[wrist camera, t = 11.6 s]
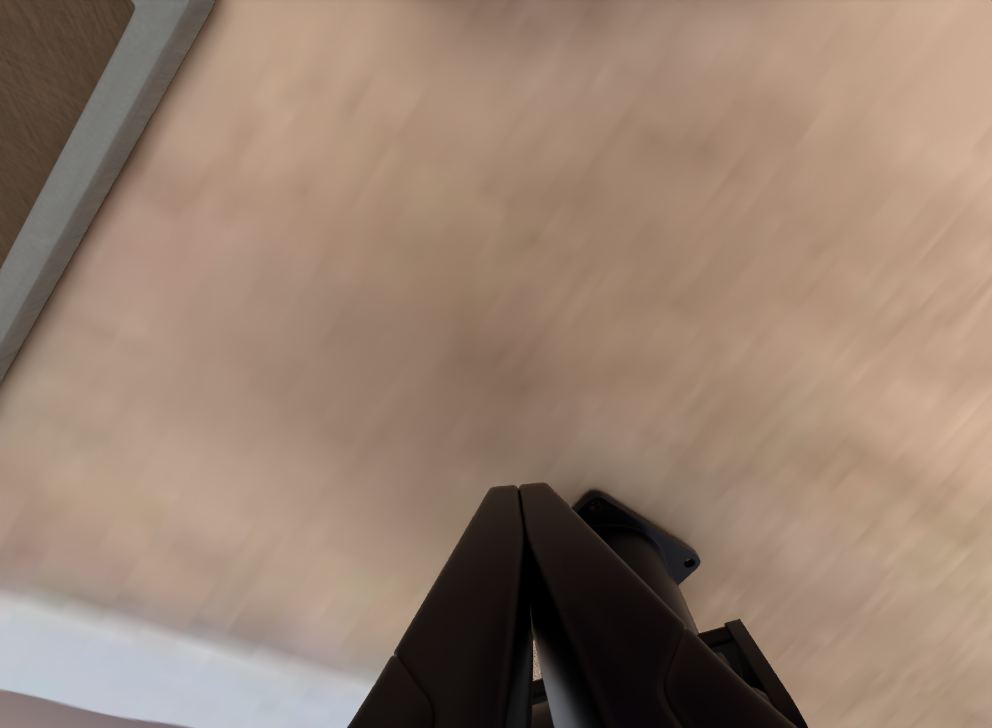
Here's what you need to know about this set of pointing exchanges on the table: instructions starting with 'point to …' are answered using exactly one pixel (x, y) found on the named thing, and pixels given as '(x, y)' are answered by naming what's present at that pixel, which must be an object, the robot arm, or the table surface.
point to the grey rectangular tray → (72, 127)
